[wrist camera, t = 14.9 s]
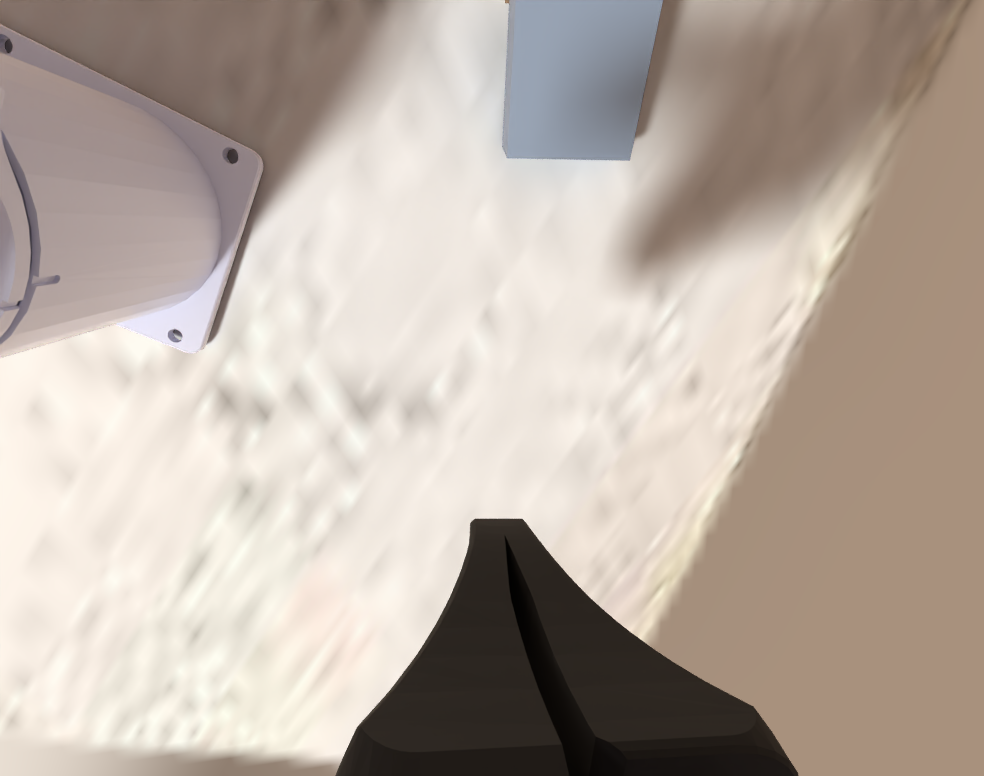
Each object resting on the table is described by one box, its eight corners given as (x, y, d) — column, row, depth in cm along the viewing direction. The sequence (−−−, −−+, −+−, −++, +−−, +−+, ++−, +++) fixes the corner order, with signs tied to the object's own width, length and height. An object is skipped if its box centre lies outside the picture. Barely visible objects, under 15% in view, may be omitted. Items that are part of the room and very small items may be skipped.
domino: (629, 160, 17) (689, -128, 12) (506, 158, 16) (523, -141, 12) (617, 149, 18) (666, -116, 14) (502, 146, 18) (515, -127, 13)
